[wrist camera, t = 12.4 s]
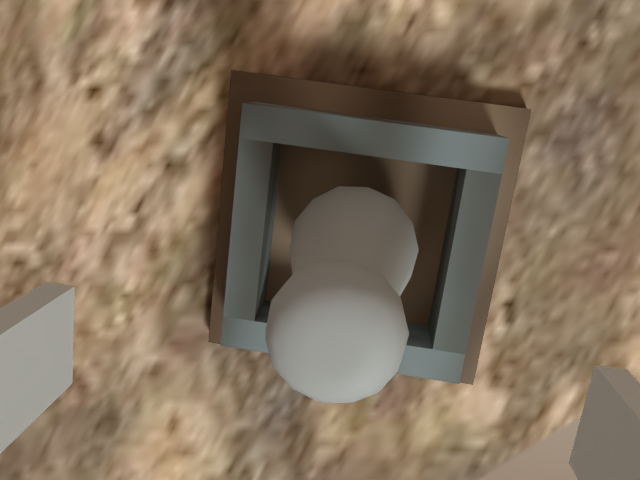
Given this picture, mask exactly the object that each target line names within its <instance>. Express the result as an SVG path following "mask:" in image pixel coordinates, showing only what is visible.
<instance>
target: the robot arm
mask: <svg viewBox="0 0 640 480" xmlns="http://www.w3.org/2000/svg"><path fill="white" fill-rule="evenodd" d="M74 288H75V286H70V285H63V284H56V283H50V282H45V283H43V284H41V285H39V286H38V287H36V288H34V289H33V290H31V291H29V292H27V293H26V294H24V295H22V296H21V297H19V298H17V299H15V300H14V301H12V302H10V303H9V304H7V305H5V306H3V307H2V308H0V453H1V452H2V451H3V450H5V449H6V448H7V447H8V446H9V445H10V444H11V443H12V442H13V441H14V440H15V439H16V438H17V437H18V436H19V435H20V434H21V433H22V432H23V431H24V430H25V429H26V428H27V427H28V426H29V425H30V424H31V423H32V422H33V421H34V420H35V419H36V418H37V417H38V416H39V415H40V414H41V413H42V412H44V411H45V410H46V409H47V408H48V407H49V406H50V405H51V404H52V403H53V402H54V401H55V400H56V399H57V398H58V397H59V396H60V395H61V394H62V393H63V392H64V391H65V390H66V389H67V388H68V387H69V386H70V385H71V384H72V380H73V334H74ZM569 463H570V465H571V467H572V469H573V471H574V473H575V475H576V477H577V478H578V480H640V383H639V382H638V381H637V380H636V379H635V378H634V377H633V376H632V375H631V373H630V372H629V371H628V370H627V369H620V368H613V367H607V366H600V365H595V367H594V371H593V374H592V378H591V382H590V386H589V389H588V393H587V397H586V401H585V404H584V408H583V412H582V416H581V419H580V423H579V427H578V431H577V435H576V438H575V442H574V446H573V449H572V453H571V457H570V461H569Z"/></svg>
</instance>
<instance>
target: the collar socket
mask: <svg viewBox="0 0 640 480" xmlns="http://www.w3.org/2000/svg"><path fill="white" fill-rule="evenodd" d="M530 113H531V109H526V108H519V107H511V106H503V105H496V104H488V103H480V102H472V101H465V100H457V99H449V98H442V97H434V96H426V95H419V94H411V93H403V92H395V91H388V90H380V89H372V88H365V87H357V86H349V85H341V84H334V83H326V82H318V81H311V80H303V79H295V78H287V77H280V76H272V75H264V74H257V73H249V72H241V71H234V70H231V79H230V91H229V103H228V115H227V127H226V139H225V151H224V163H223V175H222V186H221V198H220V210H219V222H218V234H217V246H216V258H215V270H214V282H213V294H212V306H211V318H210V329H209V341H208V342H211V343H217V344H221V346H228V347H234V348H240V349H246V350H253V351H259V352H265V353H269V351H268V347H267V343H266V340H265V333H266V325H267V320H268V315H269V310H270V305H271V300H272V299H273V298H274V296H275V295H276V294H277V293H278V291H279V290H280V289H281V288H282V287H283V285H284V284H285V283H286V282H287V281H288V279H289V278H290V277H291V276H292V267H291V258H290V243H291V238H292V233H293V228H294V222H295V220H296V219H297V218H298V216H299V215H300V214H301V213H302V211H303V210H304V209H305V208H306V207H307V205H308V204H309V203H310V202H311V201H312V199H314V198H316V197H318V196H320V195H322V194H324V193H326V192H328V191H330V190H332V189H334V188H336V187H338V186H346V187H369V188H371V189H373V190H375V191H378V192H380V193H382V194H384V195H386V196H389V197H391V198H393V199H395V200H396V201H397V203H398V204H399V205H400V207H401V208H402V209H403V211H404V212H405V213H406V215H407V216H408V217H409V219H410V220H411V221H412V223H413V227H414V231H415V236H416V240H417V244H418V249H419V251H418V255H417V258H416V262H415V265H414V269H413V272H412V276H411V278H410V280H409V282H408V283H407V285H406V287H405V289H404V290H403V292H402V294H401V296H400V297H401V301H402V305H403V310H404V314H405V318H406V323H407V327H408V331H409V336H408V340H407V343H406V347H405V350H404V354H403V357H402V360H401V364H400V366H399V369H398V371H397V373H396V374H402V375H408V376H414V377H420V378H427V379H433V380H439V381H445V382H451V383H458V384H459V383H466V384H472V385H473V382H474V377H475V373H476V368H477V363H478V358H479V354H480V349H481V344H482V340H483V335H484V330H485V325H486V321H487V316H488V311H489V306H490V302H491V297H492V292H493V288H494V283H495V278H496V273H497V269H498V264H499V259H500V255H501V250H502V245H503V240H504V236H505V231H506V226H507V222H508V217H509V212H510V207H511V203H512V198H513V193H514V188H515V184H516V179H517V174H518V170H519V165H520V160H521V155H522V151H523V146H524V141H525V137H526V132H527V127H528V122H529V118H530Z"/></svg>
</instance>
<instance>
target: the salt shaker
mask: <svg viewBox="0 0 640 480" xmlns="http://www.w3.org/2000/svg"><path fill="white" fill-rule="evenodd" d="M418 251H419V249H418V244H417V240H416V236H415V231H414V227H413V223H412V221H411V220H410V219H409V217H408V216H407V215H406V213H405V212H404V211H403V209H402V208H401V207H400V205H399V204H398V203H397V201H396V200H395V199H393V198H391V197H389V196H386V195H384V194H382V193H380V192H378V191H375V190H373V189H371V188H369V187H346V186H338V187H336V188H334V189H332V190H330V191H328V192H326V193H324V194H322V195H320V196H318V197H316V198H314V199H312V201H311V202H310V203H309V204H308V205H307V207H306V208H305V209H304V210H303V211H302V213H301V214H300V215H299V216H298V218H297V219H296V220H295V222H294V228H293V233H292V238H291V243H290V258H291V267H292V276H291V277H290V278H289V279H288V281H287V282H286V283H285V284H284V285H283V287H282V288H281V289H280V290H279V291H278V293H277V294H276V295H275V296H274V298H273V299H272V300H271V305H270V310H269V315H268V320H267V325H266V333H265V340H266V343H267V347H268V351H269V355H270V359H271V362H272V366H273V367H274V369H275V370H276V371H277V372H278V373H279V374H280V375H281V376H282V378H283V379H284V380H285V381H286V382H287V383H288V384H289V385H290V387H291V388H292V389H294V390H296V391H298V392H300V393H302V394H304V395H306V396H308V397H310V398H312V399H314V400H316V401H318V402H331V403H352V402H355V401H357V400H360V399H363V398H365V397H368V396H371V395H373V394H376V393H378V392H379V391H380V390H381V389H382V388H383V387H384V386H385V385H386V384H387V382H388V381H389V380H390V379H391V378H392V377H393V376H394V375H395V374H396V373H397V371H398V369H399V366H400V364H401V360H402V357H403V354H404V350H405V347H406V343H407V340H408V336H409V331H408V327H407V323H406V318H405V314H404V310H403V305H402V301H401V297H400V296H401V294H402V292H403V290H404V289H405V287H406V285H407V283H408V282H409V280H410V278H411V276H412V272H413V269H414V265H415V262H416V258H417V255H418Z"/></svg>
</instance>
